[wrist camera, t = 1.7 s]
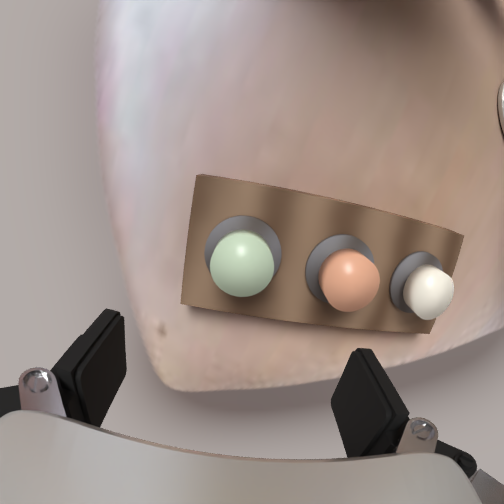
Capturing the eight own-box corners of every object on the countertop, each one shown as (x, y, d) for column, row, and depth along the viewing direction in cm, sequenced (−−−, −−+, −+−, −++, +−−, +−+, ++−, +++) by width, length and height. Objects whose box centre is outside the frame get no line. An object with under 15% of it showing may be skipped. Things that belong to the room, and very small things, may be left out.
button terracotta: (375, 253, 24) (386, 262, 22) (360, 302, 26) (369, 314, 23) (325, 243, 24) (333, 252, 22) (312, 295, 25) (318, 308, 23)
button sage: (277, 235, 24) (280, 242, 22) (265, 289, 25) (267, 301, 23) (218, 224, 24) (214, 231, 21) (210, 279, 25) (206, 291, 23)
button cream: (446, 268, 25) (459, 276, 23) (431, 310, 26) (442, 321, 24) (412, 260, 25) (425, 269, 22) (396, 306, 26) (407, 318, 24)
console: (449, 229, 28) (467, 237, 25) (418, 321, 32) (431, 336, 28) (202, 174, 27) (195, 175, 23) (186, 290, 30) (179, 306, 27)
